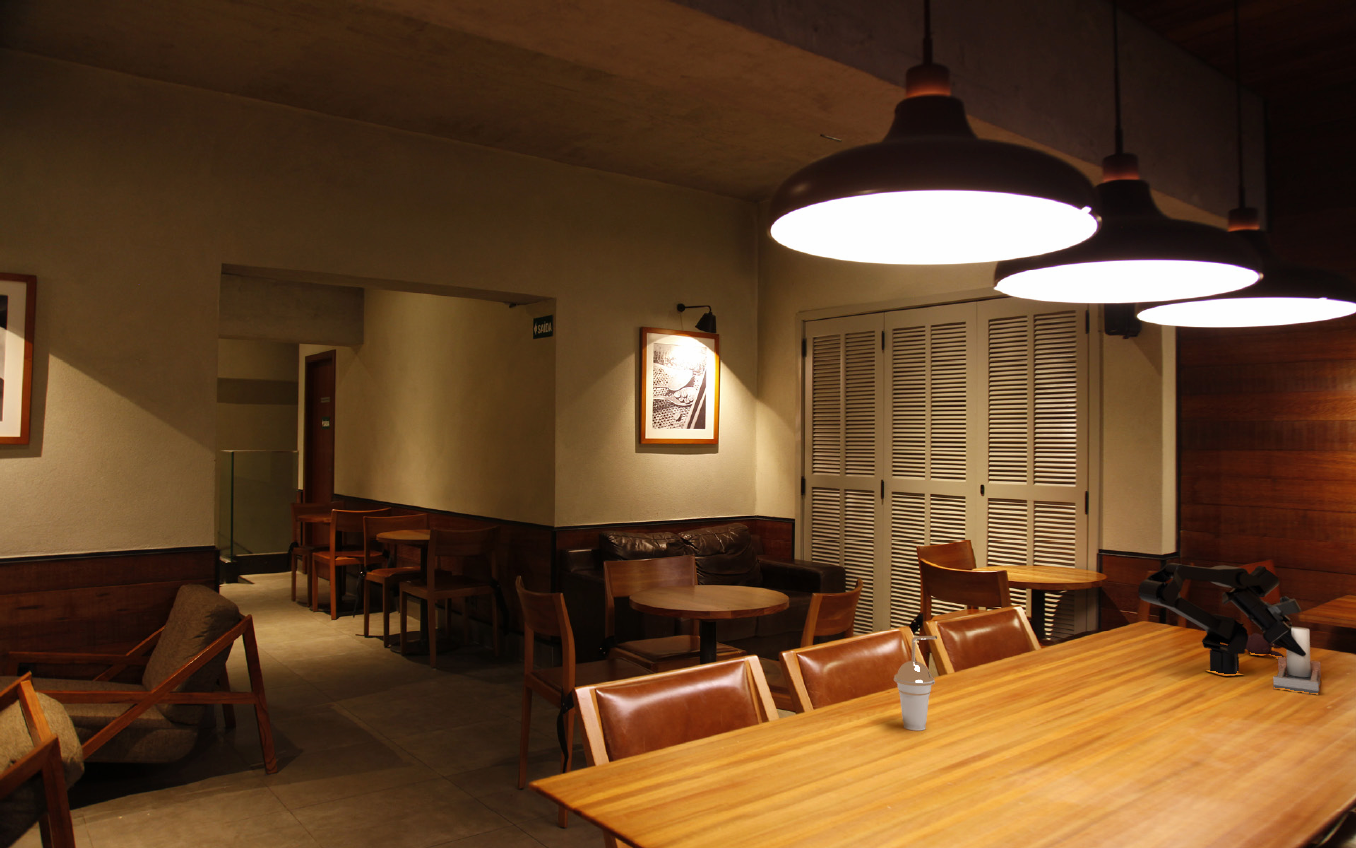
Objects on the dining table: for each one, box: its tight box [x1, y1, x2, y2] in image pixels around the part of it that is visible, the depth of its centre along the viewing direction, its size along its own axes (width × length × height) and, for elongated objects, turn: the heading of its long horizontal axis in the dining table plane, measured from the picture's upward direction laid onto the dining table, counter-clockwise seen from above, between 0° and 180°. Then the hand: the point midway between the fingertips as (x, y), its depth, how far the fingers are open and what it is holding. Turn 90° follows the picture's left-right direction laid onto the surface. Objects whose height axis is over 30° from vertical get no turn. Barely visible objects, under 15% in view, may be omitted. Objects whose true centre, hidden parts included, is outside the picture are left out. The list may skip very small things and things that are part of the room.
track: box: [1272, 656, 1322, 693], centre depth 221 cm, size 21×9×4 cm, turn 142°
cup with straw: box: [893, 635, 938, 732], centre depth 183 cm, size 8×9×20 cm
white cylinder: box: [1286, 626, 1311, 677], centre depth 226 cm, size 5×5×12 cm
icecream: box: [1245, 632, 1285, 658], centre depth 254 cm, size 7×7×15 cm
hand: (1304, 653), depth 225 cm, fingers closed on white cylinder, 5 cm apart
